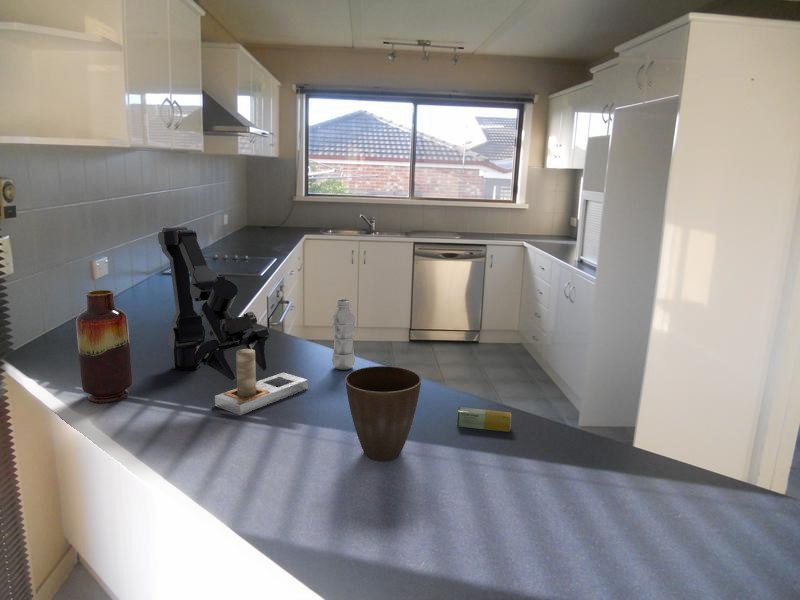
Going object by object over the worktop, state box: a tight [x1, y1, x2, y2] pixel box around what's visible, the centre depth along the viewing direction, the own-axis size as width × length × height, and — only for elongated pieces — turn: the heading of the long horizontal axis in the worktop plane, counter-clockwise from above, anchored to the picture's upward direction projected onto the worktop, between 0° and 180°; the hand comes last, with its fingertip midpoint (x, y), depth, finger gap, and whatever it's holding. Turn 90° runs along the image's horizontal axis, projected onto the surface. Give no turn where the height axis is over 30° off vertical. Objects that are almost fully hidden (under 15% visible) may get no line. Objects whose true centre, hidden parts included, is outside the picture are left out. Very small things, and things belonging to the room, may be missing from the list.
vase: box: [75, 289, 133, 404], centre depth 144 cm, size 11×11×26 cm
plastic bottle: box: [331, 298, 356, 370], centre depth 170 cm, size 6×7×20 cm
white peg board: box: [214, 372, 309, 416], centre depth 149 cm, size 22×9×3 cm, turn 144°
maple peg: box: [235, 348, 257, 399], centre depth 144 cm, size 4×4×13 cm
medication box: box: [456, 406, 512, 433], centre depth 134 cm, size 12×3×4 cm, turn 79°
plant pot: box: [344, 365, 422, 462], centre depth 119 cm, size 15×15×16 cm
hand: (249, 374), depth 142 cm, fingers open, 9 cm apart
